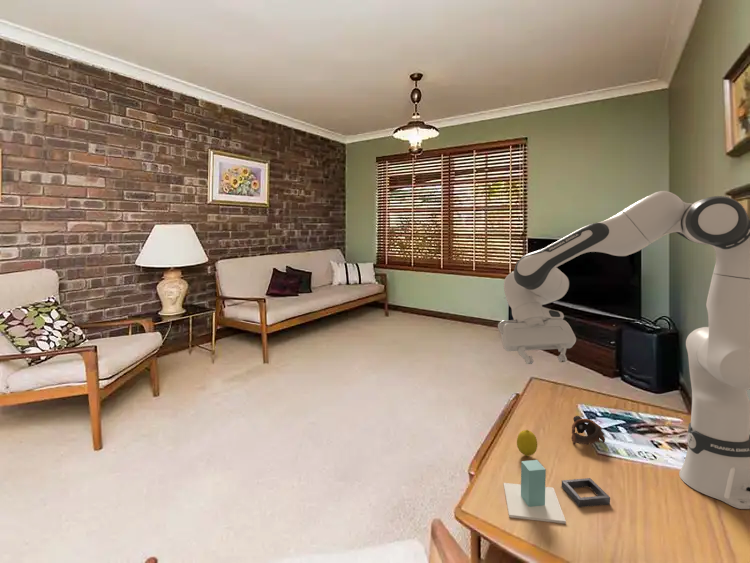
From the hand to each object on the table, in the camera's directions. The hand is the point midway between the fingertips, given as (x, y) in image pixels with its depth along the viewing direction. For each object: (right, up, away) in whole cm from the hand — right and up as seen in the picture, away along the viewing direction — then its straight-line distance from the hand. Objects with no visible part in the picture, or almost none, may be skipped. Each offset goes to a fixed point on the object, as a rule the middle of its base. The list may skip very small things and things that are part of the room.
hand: (546, 362), depth 108 cm
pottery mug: (+19, -28, +15) cm, 37 cm away
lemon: (-2, -29, +8) cm, 30 cm away
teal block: (-9, -31, -12) cm, 34 cm away
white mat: (-9, -31, -12) cm, 35 cm away
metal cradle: (+5, -31, -10) cm, 33 cm away
